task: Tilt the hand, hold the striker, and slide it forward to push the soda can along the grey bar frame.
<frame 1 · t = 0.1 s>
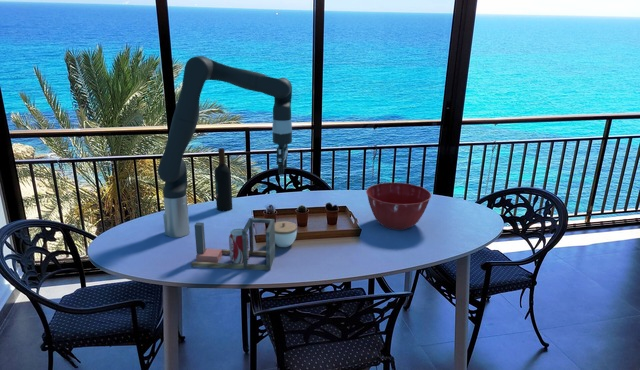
hand: (282, 170, 179), 29 cm above the table, tool pointing down, fingers open, 8 cm apart
mixing bowl: (395, 224, 204), on the table
lidded jar: (283, 244, 182), on the table
striker: (207, 241, 166), point 7 cm above the table, slide at 0.0 cm
grey bar frame: (235, 260, 168), on the table
wine bottle: (224, 209, 218), on the table
soda can: (239, 261, 168), resting in grey bar frame
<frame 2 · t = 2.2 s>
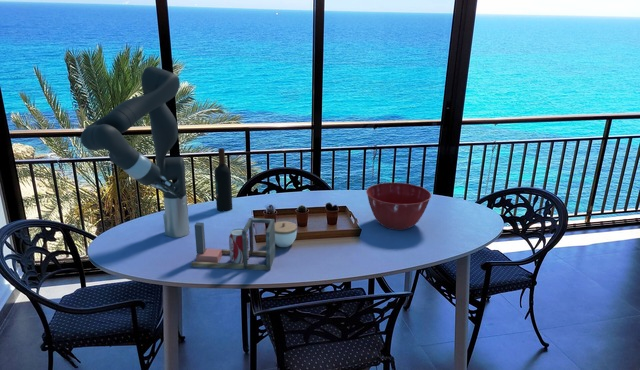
hand: (175, 194, 153), 29 cm above the table, tool tilted 45°, fingers open, 8 cm apart
nothing on the table moved.
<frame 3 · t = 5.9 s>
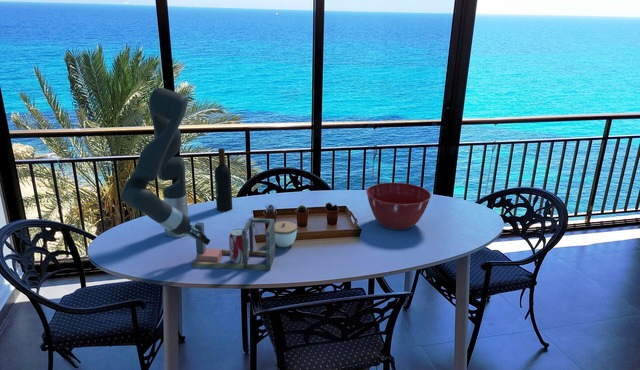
hand: (204, 240, 168), 7 cm above the table, tool tilted 45°, fingers closed on striker, 3 cm apart
striker: (208, 241, 166), point 7 cm above the table, slide at 0.0 cm, touching gripper
everything else where it was.
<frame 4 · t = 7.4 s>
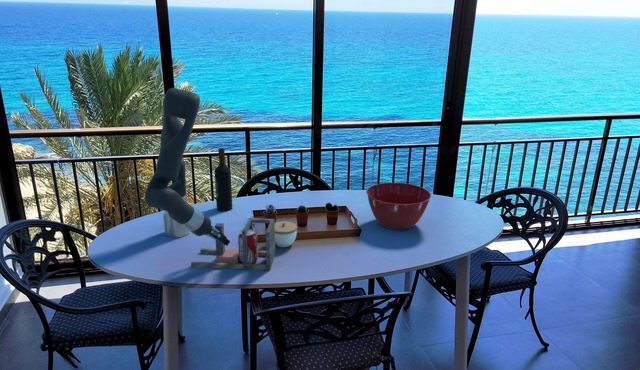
hand: (224, 241, 167), 7 cm above the table, tool tilted 45°, fingers closed on striker, 3 cm apart
striker: (227, 242, 166), point 7 cm above the table, slide at 7.5 cm, touching gripper, soda can
soda can: (248, 261, 168), resting in grey bar frame, touching striker
everything else where it was.
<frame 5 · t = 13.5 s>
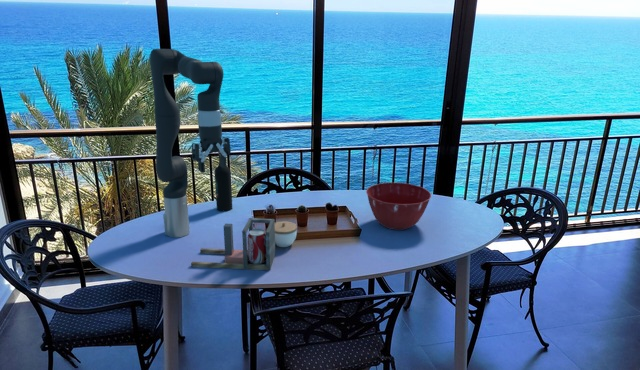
hand: (212, 169, 155), 36 cm above the table, tool pointing down, fingers open, 8 cm apart
striker: (236, 242, 166), point 7 cm above the table, slide at 10.7 cm
soda can: (257, 261, 168), resting in grey bar frame
everything else where it was.
at the end: soda can inside the target area (1.2 cm from its centre), resting in grey bar frame; soda can tilted 0°; striker slide at 10.7 cm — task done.
